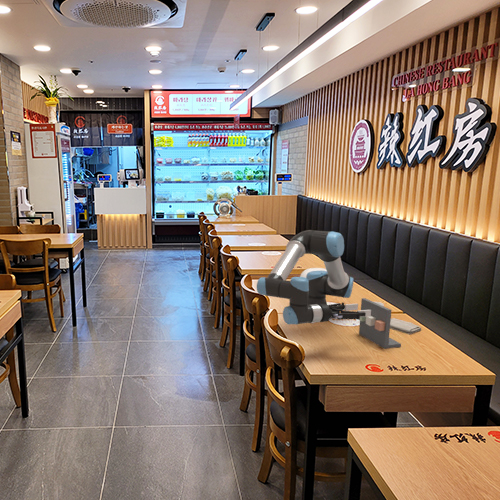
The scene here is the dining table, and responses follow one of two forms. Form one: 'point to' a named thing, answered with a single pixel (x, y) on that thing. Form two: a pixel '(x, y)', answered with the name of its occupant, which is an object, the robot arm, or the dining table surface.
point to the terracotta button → (380, 325)
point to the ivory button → (370, 320)
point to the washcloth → (404, 326)
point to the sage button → (362, 319)
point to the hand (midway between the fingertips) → (363, 309)
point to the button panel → (370, 331)
